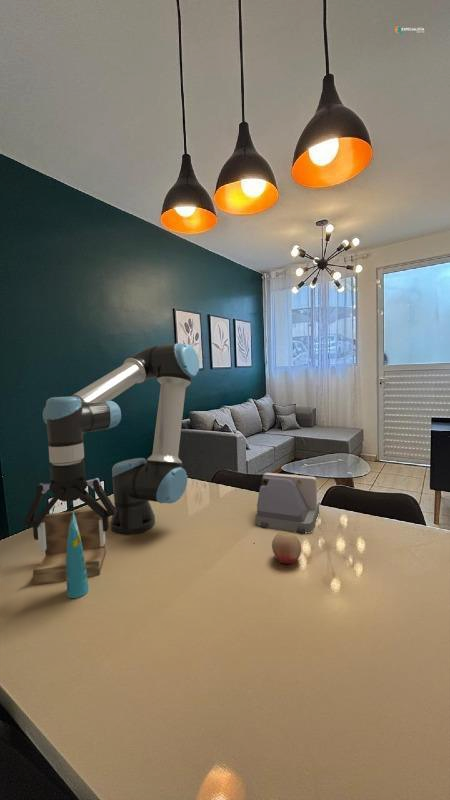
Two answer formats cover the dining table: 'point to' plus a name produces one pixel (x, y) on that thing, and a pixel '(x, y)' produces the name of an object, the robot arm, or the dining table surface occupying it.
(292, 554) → the fruit
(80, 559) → the tube
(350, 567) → the dining table surface
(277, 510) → the instant camera
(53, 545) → the brown piece
